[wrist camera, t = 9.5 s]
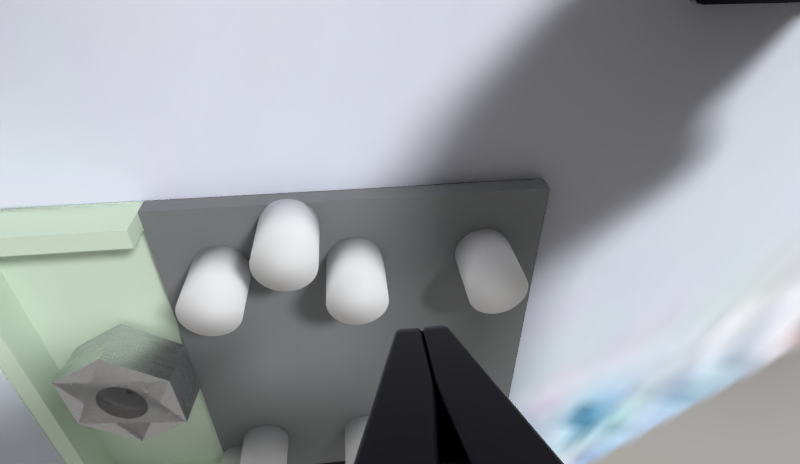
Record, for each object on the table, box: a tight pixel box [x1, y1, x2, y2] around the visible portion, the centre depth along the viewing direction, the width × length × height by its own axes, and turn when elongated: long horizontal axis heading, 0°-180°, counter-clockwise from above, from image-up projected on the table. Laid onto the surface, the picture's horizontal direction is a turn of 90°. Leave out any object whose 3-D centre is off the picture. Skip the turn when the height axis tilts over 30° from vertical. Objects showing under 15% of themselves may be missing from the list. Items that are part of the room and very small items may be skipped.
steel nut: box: [52, 324, 201, 441], centre depth 23 cm, size 5×6×2 cm
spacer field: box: [0, 179, 549, 464], centre depth 24 cm, size 23×18×3 cm
